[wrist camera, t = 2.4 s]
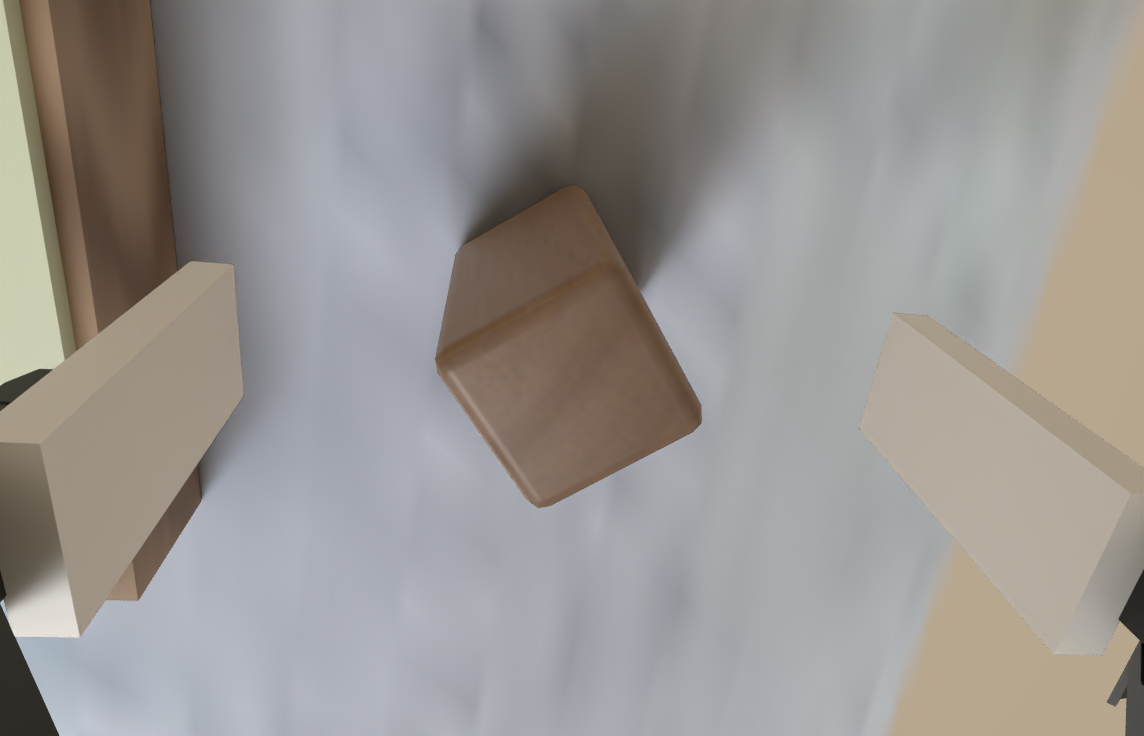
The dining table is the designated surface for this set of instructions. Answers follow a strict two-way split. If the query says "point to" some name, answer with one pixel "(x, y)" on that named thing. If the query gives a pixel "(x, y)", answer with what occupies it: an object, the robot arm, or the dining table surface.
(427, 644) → the dining table surface
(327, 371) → the dining table surface
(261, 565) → the dining table surface
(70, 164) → the walnut stand
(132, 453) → the robot arm
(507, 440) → the wooden block
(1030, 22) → the dining table surface
